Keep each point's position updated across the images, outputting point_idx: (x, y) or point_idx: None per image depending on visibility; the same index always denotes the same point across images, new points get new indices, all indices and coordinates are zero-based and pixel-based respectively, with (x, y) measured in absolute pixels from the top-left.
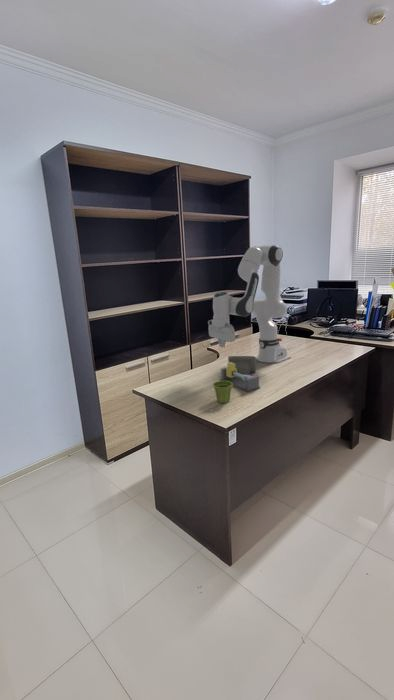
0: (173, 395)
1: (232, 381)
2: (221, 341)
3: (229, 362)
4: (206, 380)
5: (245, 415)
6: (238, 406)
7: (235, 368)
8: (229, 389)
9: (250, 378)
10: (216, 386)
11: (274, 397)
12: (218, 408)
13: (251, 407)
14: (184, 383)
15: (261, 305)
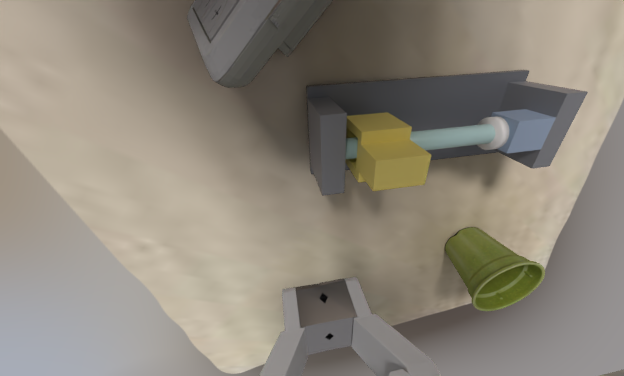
0: None
1: None
2: (290, 367)
3: (376, 173)
4: (271, 217)
5: (558, 234)
6: (520, 225)
7: (404, 134)
8: (527, 268)
9: (552, 147)
10: (468, 285)
11: (612, 93)
12: None
13: (557, 202)
14: (251, 286)
15: None
